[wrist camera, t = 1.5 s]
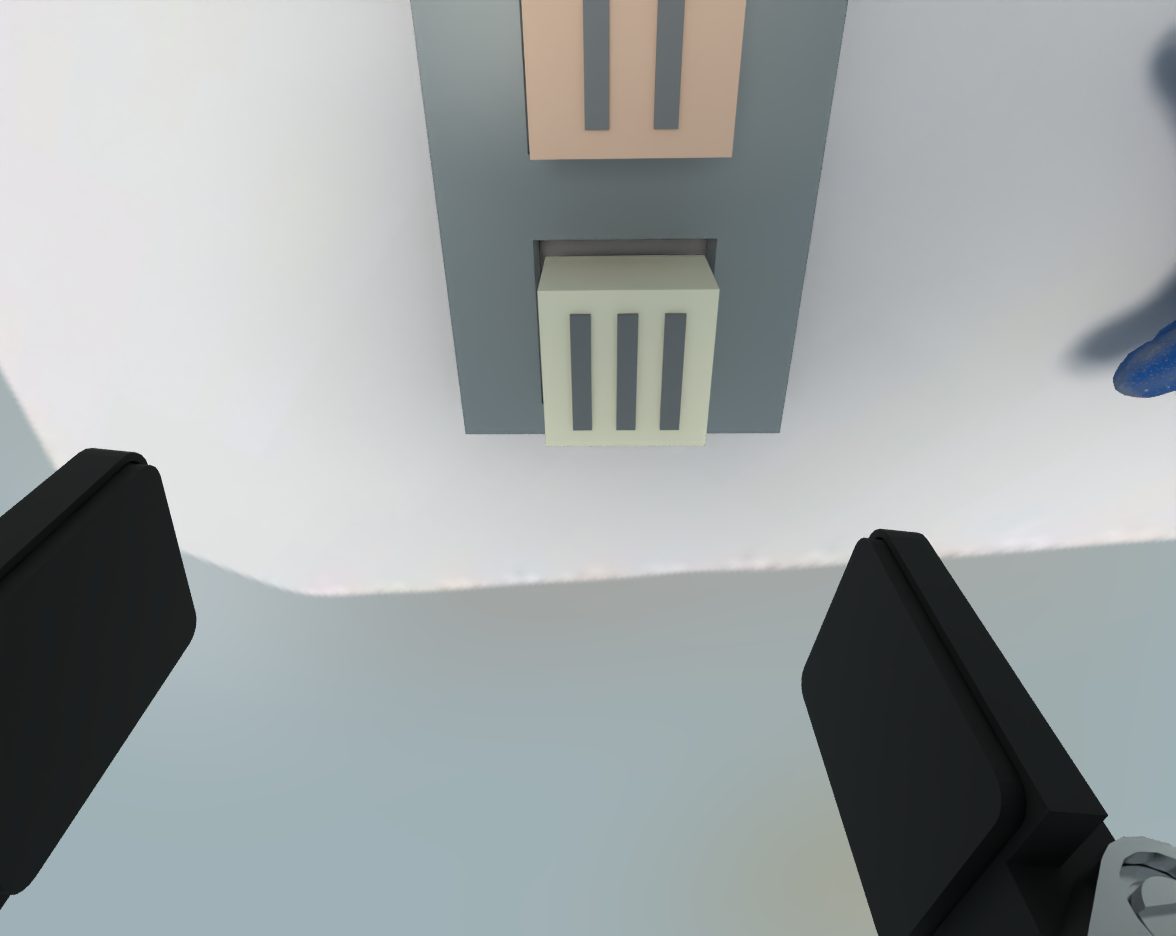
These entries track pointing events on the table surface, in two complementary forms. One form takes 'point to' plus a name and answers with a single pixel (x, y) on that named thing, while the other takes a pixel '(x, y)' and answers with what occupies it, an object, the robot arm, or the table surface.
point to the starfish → (1150, 367)
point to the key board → (623, 204)
